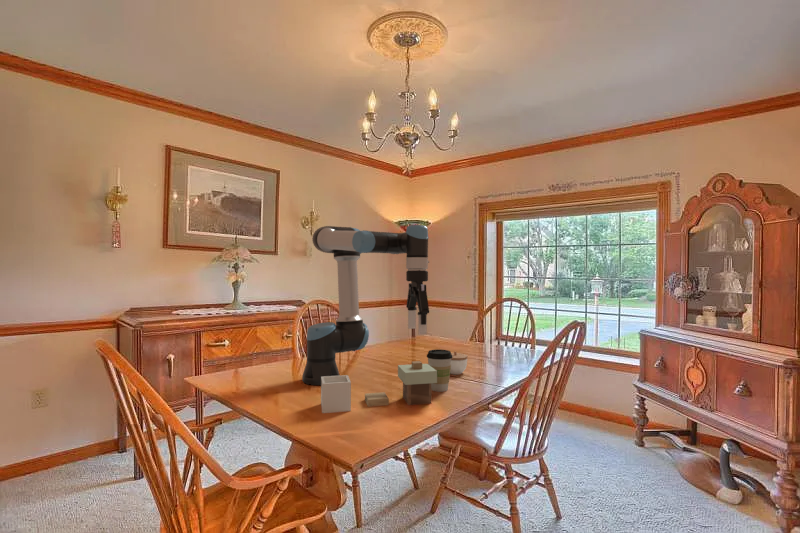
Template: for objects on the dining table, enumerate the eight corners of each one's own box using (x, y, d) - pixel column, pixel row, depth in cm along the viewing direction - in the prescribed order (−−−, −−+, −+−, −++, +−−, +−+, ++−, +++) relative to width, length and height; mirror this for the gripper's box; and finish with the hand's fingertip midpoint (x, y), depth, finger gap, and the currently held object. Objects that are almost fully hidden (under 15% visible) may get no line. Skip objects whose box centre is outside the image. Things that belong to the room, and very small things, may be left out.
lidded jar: (469, 375, 179) (469, 354, 179) (444, 375, 179) (444, 354, 179) (465, 369, 190) (465, 349, 190) (442, 369, 190) (442, 349, 190)
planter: (320, 406, 139) (321, 376, 139) (347, 404, 141) (347, 375, 141) (322, 415, 130) (322, 383, 130) (350, 413, 132) (350, 382, 132)
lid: (397, 376, 147) (397, 359, 147) (427, 374, 150) (427, 358, 150) (405, 384, 136) (405, 366, 136) (437, 382, 139) (437, 365, 139)
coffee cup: (451, 395, 151) (451, 354, 151) (424, 394, 153) (424, 353, 153) (453, 388, 160) (453, 349, 160) (428, 386, 162) (428, 348, 162)
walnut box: (402, 399, 146) (402, 377, 146) (424, 398, 148) (424, 375, 148) (408, 407, 138) (408, 383, 138) (431, 405, 140) (431, 381, 140)
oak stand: (364, 402, 143) (364, 393, 143) (384, 400, 145) (384, 392, 145) (367, 408, 136) (367, 399, 136) (388, 407, 138) (388, 398, 138)
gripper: (439, 270, 132) (438, 336, 132) (417, 269, 156) (417, 326, 156) (416, 270, 130) (416, 337, 130) (398, 269, 154) (398, 326, 154)
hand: (417, 331), depth 143 cm, fingers open, 13 cm apart
